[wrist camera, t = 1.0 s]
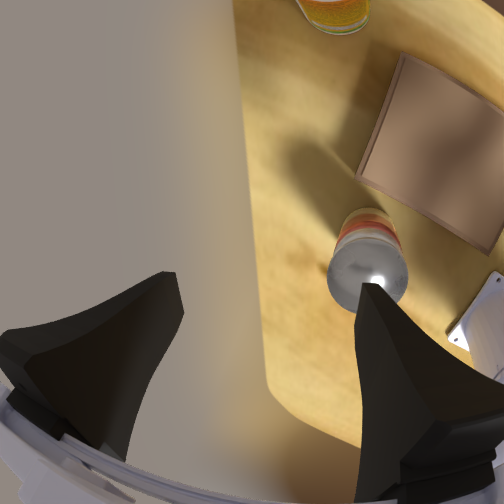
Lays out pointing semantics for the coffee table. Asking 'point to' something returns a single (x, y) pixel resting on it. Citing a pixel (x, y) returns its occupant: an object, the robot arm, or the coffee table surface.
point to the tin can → (366, 258)
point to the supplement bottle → (336, 15)
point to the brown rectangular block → (439, 152)
